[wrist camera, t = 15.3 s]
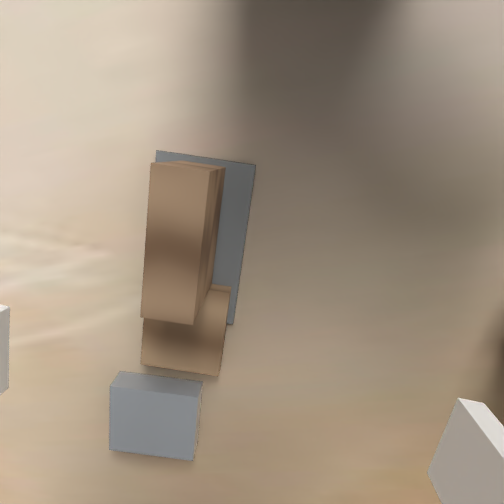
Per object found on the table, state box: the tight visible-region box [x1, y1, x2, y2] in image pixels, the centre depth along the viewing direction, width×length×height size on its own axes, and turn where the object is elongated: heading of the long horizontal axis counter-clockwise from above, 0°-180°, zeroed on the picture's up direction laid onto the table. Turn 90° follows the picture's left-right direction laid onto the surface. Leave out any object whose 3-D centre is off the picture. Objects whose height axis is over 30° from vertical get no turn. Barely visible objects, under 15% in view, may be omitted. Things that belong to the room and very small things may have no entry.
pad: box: [156, 150, 256, 324], centre depth 31 cm, size 14×8×1 cm, turn 172°
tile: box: [109, 371, 203, 461], centre depth 35 cm, size 7×3×8 cm
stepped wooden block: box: [140, 161, 231, 376], centre depth 28 cm, size 18×7×8 cm, turn 172°
